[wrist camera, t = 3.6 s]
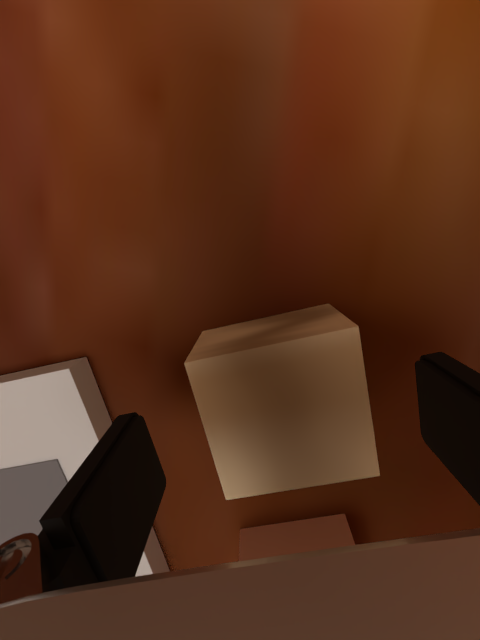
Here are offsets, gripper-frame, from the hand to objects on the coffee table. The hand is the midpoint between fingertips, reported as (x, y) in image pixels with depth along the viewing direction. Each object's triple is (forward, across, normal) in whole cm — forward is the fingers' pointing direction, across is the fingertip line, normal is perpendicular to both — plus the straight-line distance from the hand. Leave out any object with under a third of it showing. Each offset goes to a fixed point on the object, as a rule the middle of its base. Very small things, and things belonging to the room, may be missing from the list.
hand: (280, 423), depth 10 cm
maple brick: (+5, 0, 0) cm, 5 cm away
